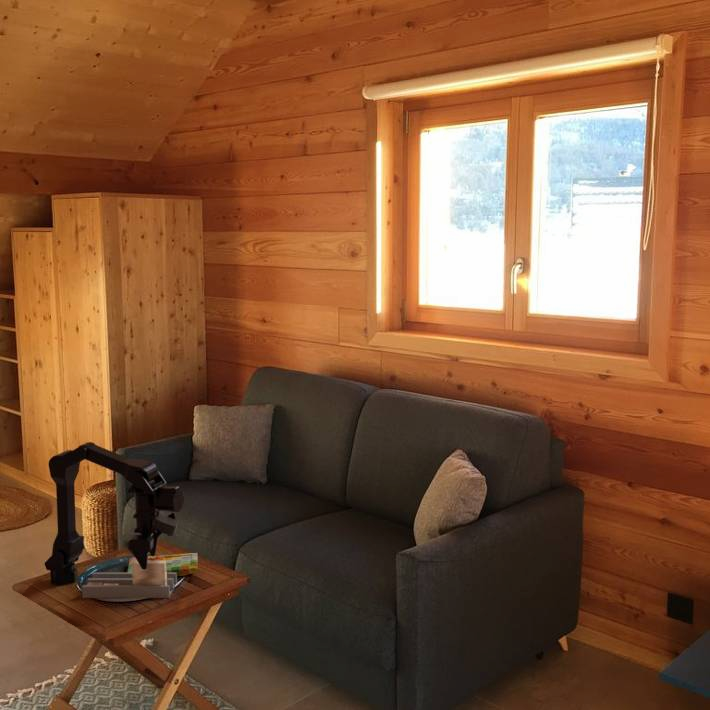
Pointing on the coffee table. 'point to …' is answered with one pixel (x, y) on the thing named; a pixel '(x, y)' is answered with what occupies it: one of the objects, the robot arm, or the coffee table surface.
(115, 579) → the rack
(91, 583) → the offcut dark
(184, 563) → the puzzle game
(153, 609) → the coffee table surface
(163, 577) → the beige square panel
